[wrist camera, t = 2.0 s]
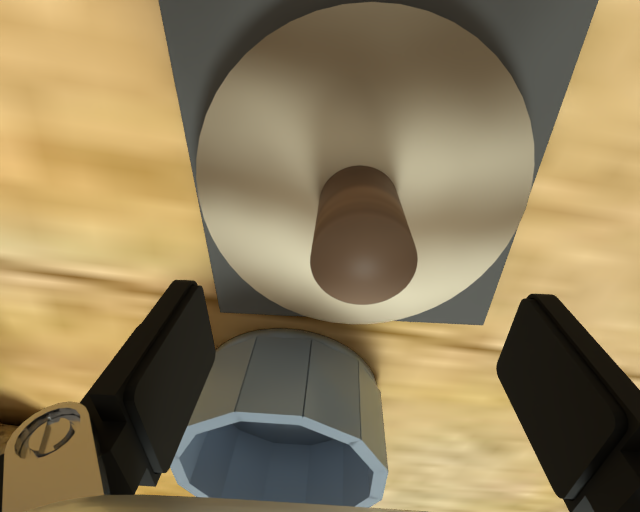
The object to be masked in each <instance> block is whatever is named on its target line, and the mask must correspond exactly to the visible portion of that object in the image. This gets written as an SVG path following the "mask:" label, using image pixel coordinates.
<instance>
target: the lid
mask: <svg viewBox="0 0 640 512" xmlns="http://www.w3.org/2000/svg"><path fill="white" fill-rule="evenodd" d="M533 173H534V139H533V133H532V127H531V121H530V118H529V115H528V112H527V109H526V106H525V103H524V100H523V97H522V95H521V93H520V91H519V89H518V87H517V85H516V84H515V82H514V80H513V78H512V76H511V74H510V73H509V72H508V70H507V69H506V68H505V67H504V65H503V64H502V63H501V61H500V60H499V59H498V57H497V56H496V55H495V54H494V53H493V52H492V51H491V50H490V49H489V48H488V47H487V46H486V45H484V44H483V43H482V42H481V41H480V40H479V39H478V38H477V37H476V36H474V35H473V34H471V33H470V32H468V31H467V30H465V29H463V28H462V27H460V26H459V25H457V24H456V23H454V22H452V21H450V20H448V19H446V18H443V17H441V16H439V15H436V14H434V13H432V12H429V11H426V10H422V9H418V8H414V7H410V6H406V5H402V4H393V3H381V2H364V3H351V4H342V5H338V6H334V7H330V8H326V9H322V10H318V11H314V12H312V13H310V14H307V15H305V16H303V17H300V18H298V19H295V20H293V21H291V22H289V23H287V24H285V25H284V26H282V27H281V28H279V29H277V30H276V31H274V32H272V33H271V34H269V35H268V36H266V37H265V38H264V39H263V40H261V41H260V42H259V43H258V44H257V45H255V46H254V47H253V48H252V49H251V50H249V51H248V52H247V53H246V54H245V55H244V56H243V57H242V59H241V60H240V61H239V62H238V63H237V64H236V65H235V67H234V68H233V69H232V70H231V71H230V72H229V74H228V75H227V77H226V78H225V80H224V81H223V83H222V84H221V86H220V88H219V89H218V91H217V92H216V94H215V96H214V98H213V100H212V103H211V105H210V107H209V109H208V111H207V114H206V116H205V120H204V123H203V127H202V130H201V133H200V137H199V144H198V151H197V157H196V181H197V189H198V197H199V202H200V206H201V209H202V213H203V217H204V220H205V222H206V225H207V227H208V230H209V232H210V234H211V236H212V238H213V240H214V242H215V244H216V245H217V247H218V249H219V251H220V252H221V254H222V255H223V256H224V258H225V259H226V260H227V262H228V263H229V265H230V266H231V267H232V268H233V269H234V270H235V271H236V272H237V273H238V275H239V276H240V277H241V278H242V279H243V280H244V281H246V282H247V283H248V284H249V285H250V286H251V287H253V288H254V289H255V290H256V291H258V292H259V293H260V294H262V295H263V296H265V297H266V298H268V299H269V300H271V301H273V302H275V303H276V304H278V305H280V306H282V307H284V308H286V309H288V310H291V311H293V312H296V313H298V314H301V315H304V316H307V317H311V318H314V319H318V320H323V321H328V322H333V323H344V324H373V323H383V322H389V321H394V320H399V319H403V318H406V317H410V316H413V315H417V314H419V313H422V312H424V311H427V310H429V309H432V308H434V307H436V306H438V305H440V304H442V303H444V302H446V301H447V300H449V299H451V298H453V297H454V296H456V295H457V294H459V293H460V292H462V291H463V290H465V289H466V288H467V287H469V286H470V285H471V284H472V283H473V282H475V281H476V280H477V279H478V278H479V277H481V276H482V275H483V274H484V273H485V271H486V270H487V269H488V268H489V267H490V266H491V265H492V264H493V263H494V262H495V261H496V260H497V258H498V257H499V256H500V254H501V253H502V252H503V250H504V249H505V248H506V246H507V245H508V243H509V241H510V240H511V238H512V236H513V235H514V233H515V231H516V230H517V228H518V225H519V223H520V221H521V218H522V216H523V214H524V211H525V209H526V206H527V202H528V198H529V195H530V191H531V188H532V180H533Z"/></svg>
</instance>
